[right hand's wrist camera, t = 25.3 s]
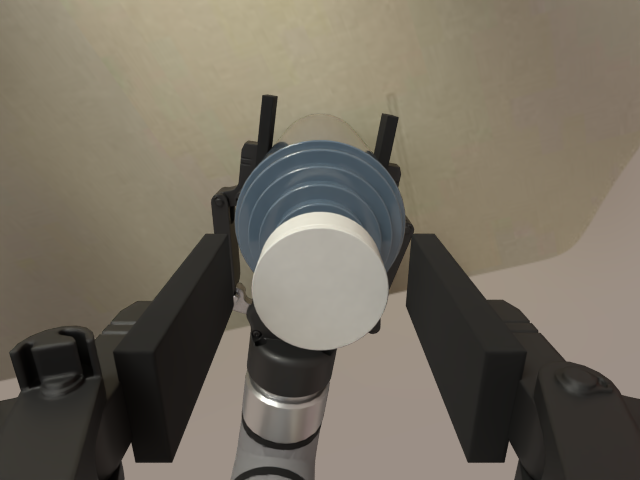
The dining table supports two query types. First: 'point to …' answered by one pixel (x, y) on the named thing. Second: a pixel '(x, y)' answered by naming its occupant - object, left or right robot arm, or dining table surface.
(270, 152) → the bottle
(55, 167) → the dining table surface
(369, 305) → the cap
